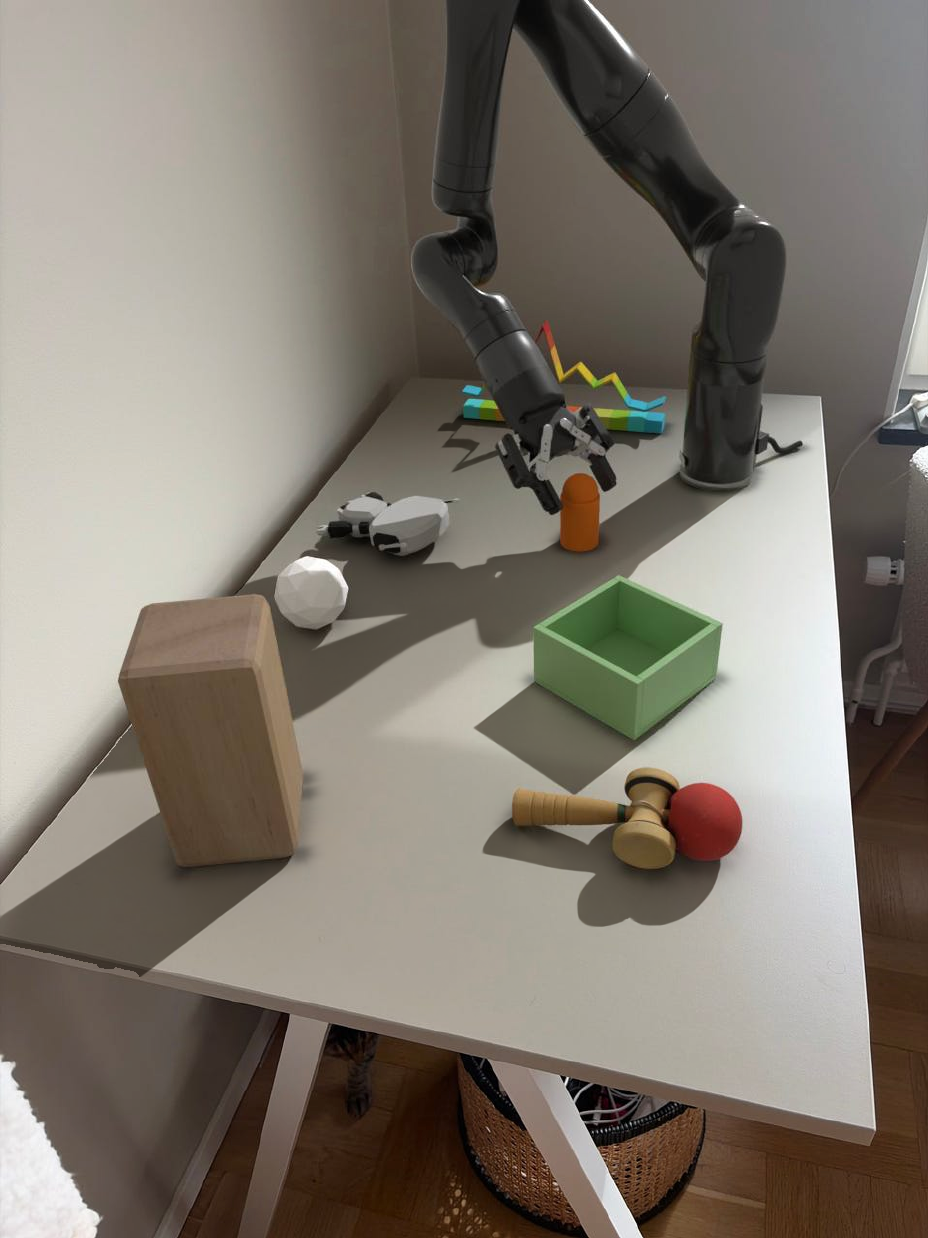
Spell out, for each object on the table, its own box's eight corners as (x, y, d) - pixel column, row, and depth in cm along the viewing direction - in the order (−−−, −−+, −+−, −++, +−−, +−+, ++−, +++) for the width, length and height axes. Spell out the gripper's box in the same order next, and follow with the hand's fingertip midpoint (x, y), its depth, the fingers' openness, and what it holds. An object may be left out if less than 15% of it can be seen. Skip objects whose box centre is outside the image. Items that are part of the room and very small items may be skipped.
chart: (664, 424, 145) (671, 324, 136) (661, 433, 142) (668, 331, 134) (469, 409, 153) (464, 314, 145) (463, 417, 151) (458, 321, 142)
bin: (616, 627, 103) (618, 574, 99) (716, 678, 95) (723, 623, 92) (533, 681, 96) (533, 627, 93) (634, 741, 89) (637, 684, 85)
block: (192, 786, 87) (138, 599, 75) (305, 775, 87) (268, 587, 76) (175, 873, 79) (111, 678, 67) (299, 861, 79) (256, 665, 68)
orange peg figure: (577, 528, 121) (578, 462, 116) (606, 541, 118) (608, 474, 113) (552, 542, 118) (552, 475, 113) (580, 556, 115) (582, 487, 110)
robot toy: (313, 554, 121) (414, 574, 113) (306, 521, 118) (408, 540, 111) (370, 510, 129) (467, 527, 122) (364, 479, 127) (463, 494, 119)
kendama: (509, 873, 78) (742, 888, 73) (499, 807, 76) (739, 817, 70) (530, 817, 85) (744, 827, 80) (521, 755, 83) (742, 760, 77)
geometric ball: (310, 652, 107) (261, 622, 101) (304, 594, 112) (257, 562, 106) (365, 623, 104) (319, 591, 98) (358, 565, 109) (312, 530, 103)
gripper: (485, 380, 108) (554, 507, 107) (579, 348, 115) (645, 468, 114) (459, 411, 115) (524, 532, 114) (549, 380, 122) (611, 493, 121)
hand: (584, 500), depth 114 cm, fingers open, 8 cm apart
